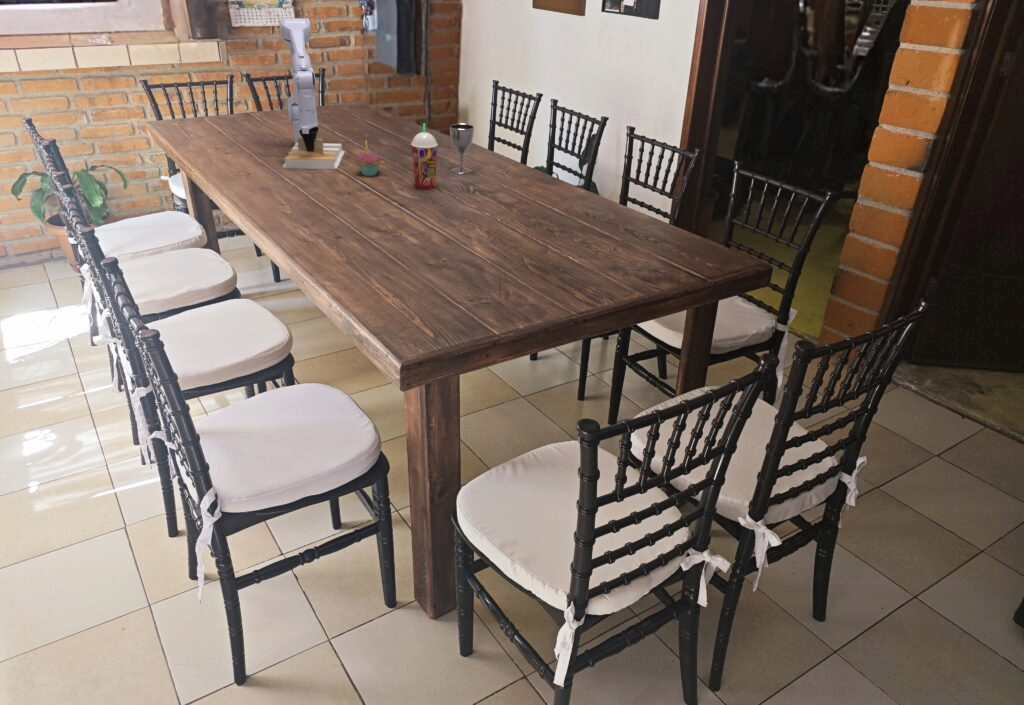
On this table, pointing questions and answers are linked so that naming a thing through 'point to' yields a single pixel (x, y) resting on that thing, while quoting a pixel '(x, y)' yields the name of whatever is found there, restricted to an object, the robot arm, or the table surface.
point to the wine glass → (461, 142)
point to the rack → (315, 158)
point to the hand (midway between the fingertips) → (310, 150)
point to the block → (317, 148)
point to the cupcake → (368, 162)
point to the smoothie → (424, 159)
